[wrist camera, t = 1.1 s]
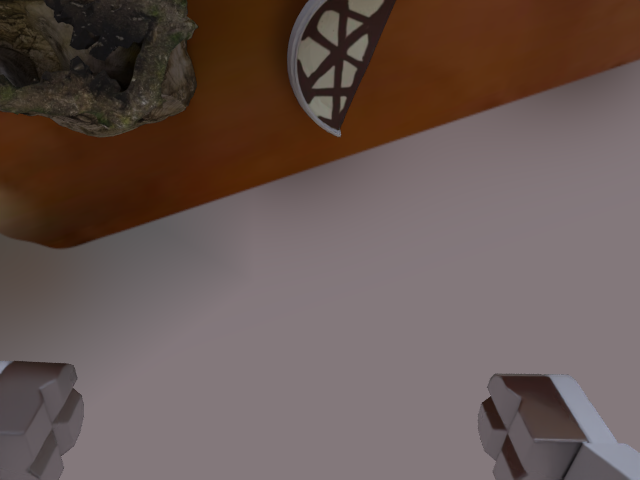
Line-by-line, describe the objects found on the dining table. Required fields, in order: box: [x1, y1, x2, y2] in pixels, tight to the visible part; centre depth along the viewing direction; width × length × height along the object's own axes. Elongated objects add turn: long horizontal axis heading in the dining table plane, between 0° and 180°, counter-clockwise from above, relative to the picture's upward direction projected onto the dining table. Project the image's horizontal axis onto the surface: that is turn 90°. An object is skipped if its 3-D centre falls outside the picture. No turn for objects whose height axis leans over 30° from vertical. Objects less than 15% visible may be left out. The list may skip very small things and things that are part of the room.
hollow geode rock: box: [0, 0, 198, 137], centre depth 38 cm, size 28×13×15 cm
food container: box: [287, 0, 396, 137], centre depth 39 cm, size 12×6×10 cm, turn 158°
